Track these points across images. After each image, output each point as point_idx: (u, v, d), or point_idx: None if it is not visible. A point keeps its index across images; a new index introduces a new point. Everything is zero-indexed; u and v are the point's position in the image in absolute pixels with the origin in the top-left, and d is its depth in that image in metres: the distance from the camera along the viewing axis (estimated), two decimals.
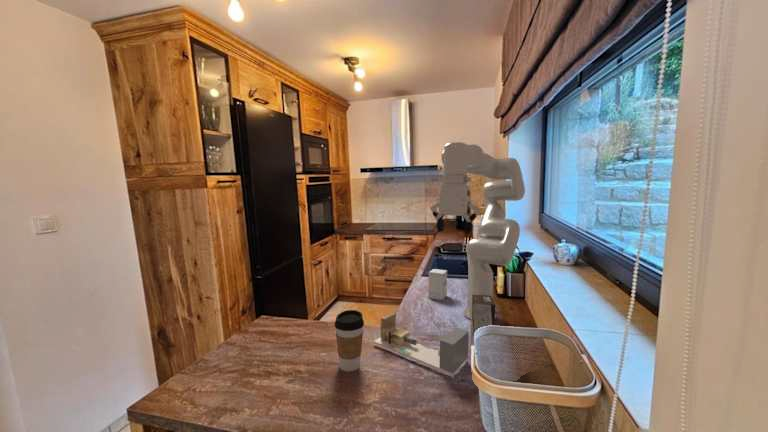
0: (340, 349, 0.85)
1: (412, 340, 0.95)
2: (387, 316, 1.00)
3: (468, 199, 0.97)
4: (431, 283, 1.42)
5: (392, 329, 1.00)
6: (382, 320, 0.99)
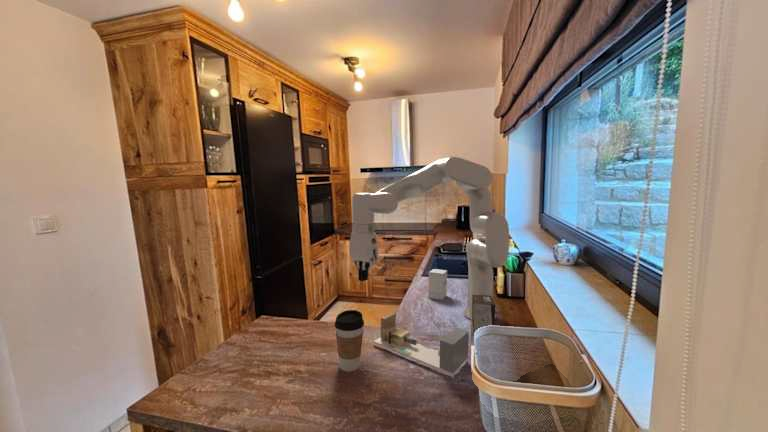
0: (340, 349, 0.85)
1: (412, 340, 0.95)
2: (387, 316, 1.00)
3: (373, 247, 1.02)
4: (431, 283, 1.42)
5: (392, 329, 1.00)
6: (382, 320, 0.99)
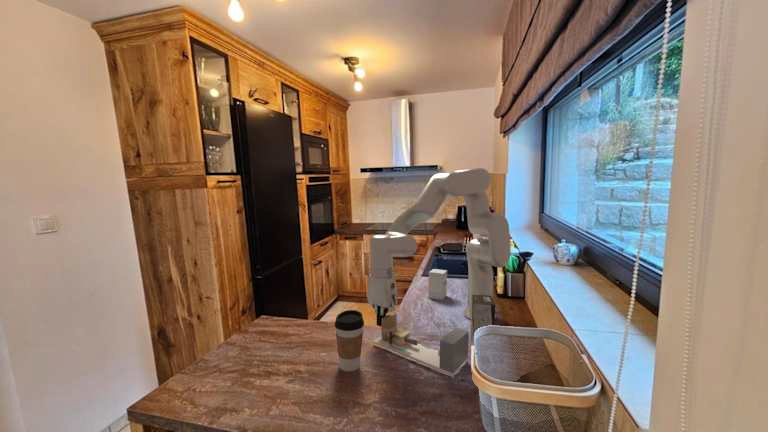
0: (340, 349, 0.85)
1: (413, 340, 0.95)
2: (388, 316, 1.00)
3: (392, 292, 0.99)
4: (431, 283, 1.42)
5: (393, 329, 1.00)
6: (383, 320, 0.98)
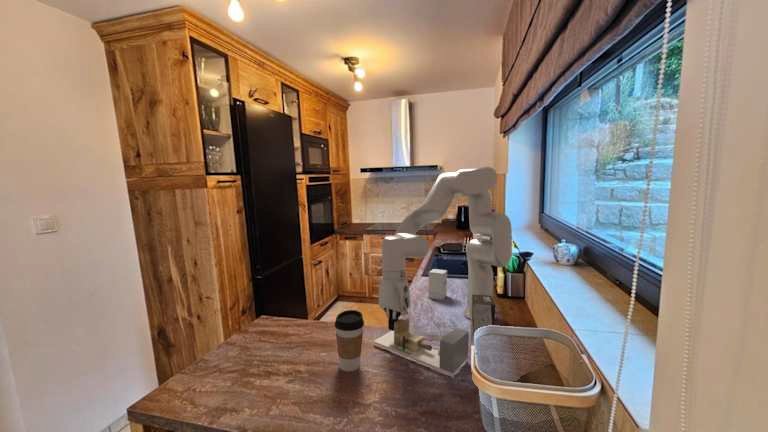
0: (340, 349, 0.85)
1: (427, 346, 0.91)
2: (400, 320, 0.97)
3: (405, 296, 0.95)
4: (431, 283, 1.42)
5: (406, 334, 0.97)
6: (395, 324, 0.95)
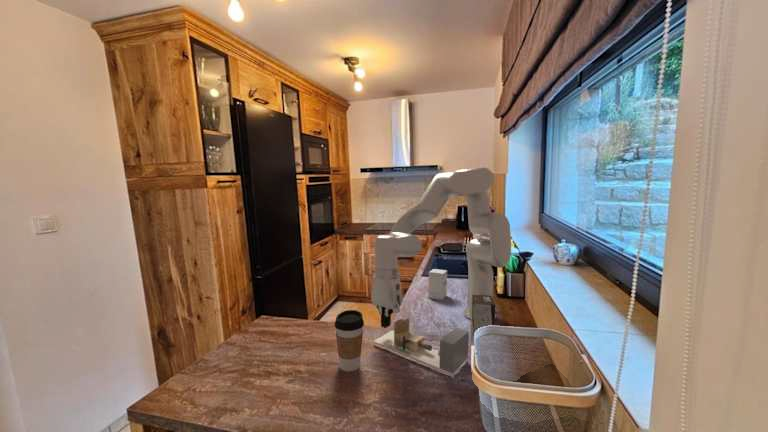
0: (340, 349, 0.85)
1: (427, 346, 0.91)
2: (400, 320, 0.97)
3: (397, 293, 0.97)
4: (431, 283, 1.42)
5: (406, 334, 0.97)
6: (396, 324, 0.95)
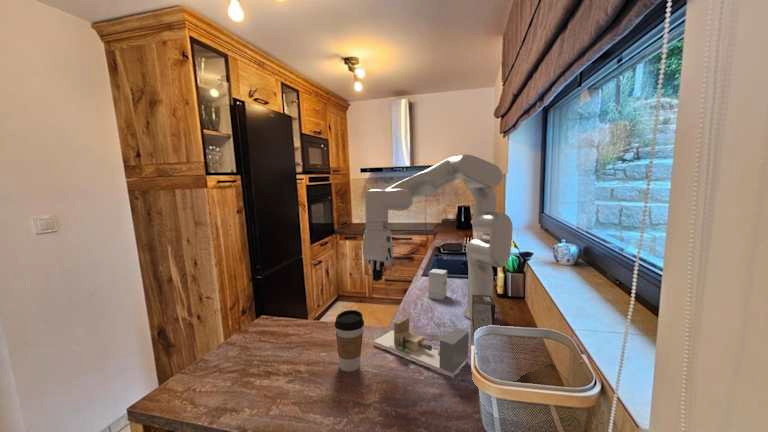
0: (340, 349, 0.85)
1: (427, 346, 0.91)
2: (400, 320, 0.97)
3: (388, 246, 0.99)
4: (431, 283, 1.42)
5: (406, 334, 0.97)
6: (396, 324, 0.95)
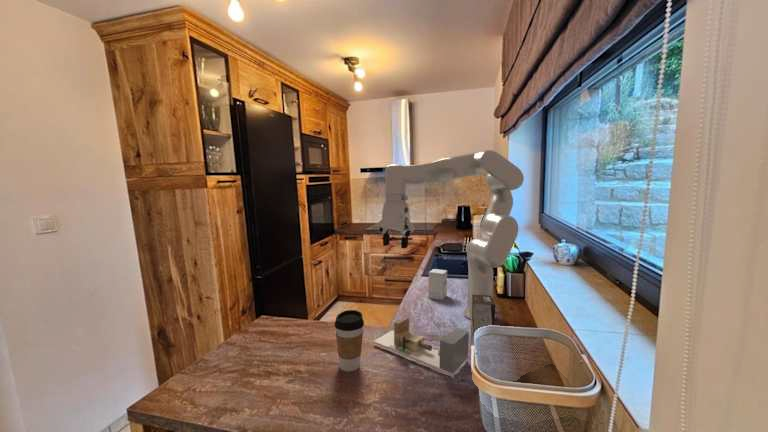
0: (340, 349, 0.85)
1: (427, 346, 0.91)
2: (400, 320, 0.97)
3: (405, 216, 1.08)
4: (431, 283, 1.42)
5: (406, 334, 0.97)
6: (396, 324, 0.95)
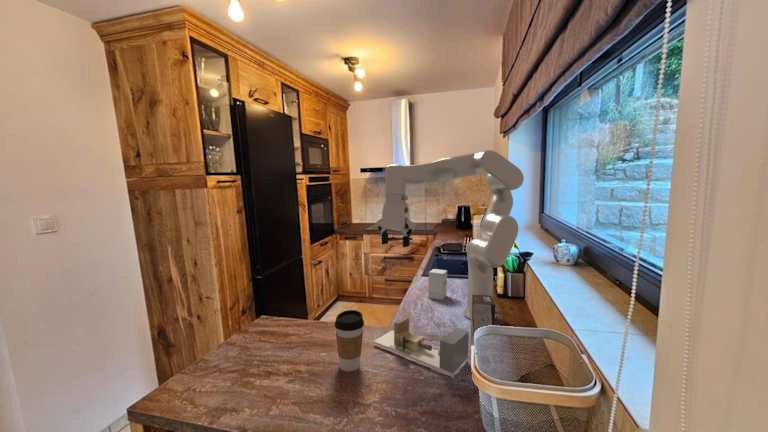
0: (340, 349, 0.85)
1: (427, 346, 0.91)
2: (400, 320, 0.97)
3: (405, 216, 1.08)
4: (431, 283, 1.42)
5: (406, 334, 0.97)
6: (396, 324, 0.95)
